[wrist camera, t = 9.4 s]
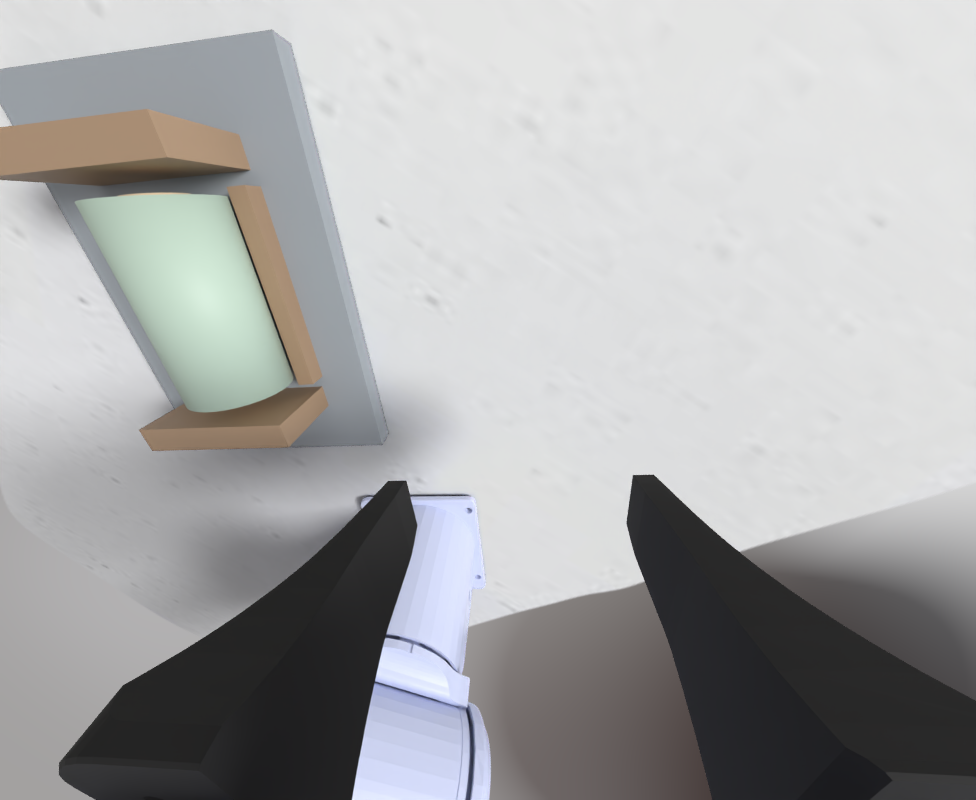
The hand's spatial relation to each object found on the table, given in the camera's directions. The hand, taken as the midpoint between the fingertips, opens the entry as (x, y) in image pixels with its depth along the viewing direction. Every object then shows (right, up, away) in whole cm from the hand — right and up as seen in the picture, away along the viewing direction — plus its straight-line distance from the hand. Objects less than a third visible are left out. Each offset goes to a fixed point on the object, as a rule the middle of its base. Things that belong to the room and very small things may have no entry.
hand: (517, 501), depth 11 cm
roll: (-14, +8, +6) cm, 17 cm away
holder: (-14, +9, +7) cm, 18 cm away
